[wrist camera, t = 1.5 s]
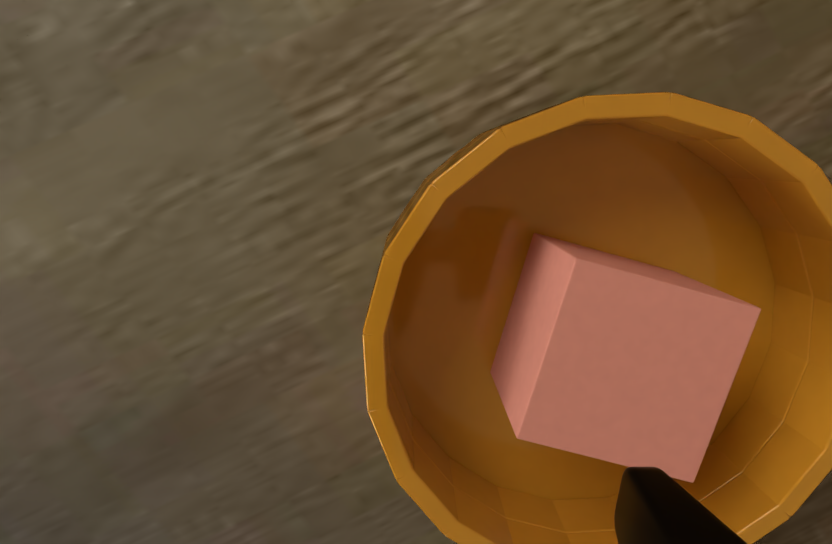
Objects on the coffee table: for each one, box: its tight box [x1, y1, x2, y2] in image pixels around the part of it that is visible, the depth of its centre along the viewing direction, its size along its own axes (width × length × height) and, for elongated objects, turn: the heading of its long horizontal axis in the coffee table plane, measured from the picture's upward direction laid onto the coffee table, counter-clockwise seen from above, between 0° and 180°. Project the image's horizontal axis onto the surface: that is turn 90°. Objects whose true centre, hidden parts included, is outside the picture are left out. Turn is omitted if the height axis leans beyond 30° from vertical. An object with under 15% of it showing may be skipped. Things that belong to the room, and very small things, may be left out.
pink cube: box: [490, 233, 761, 483], centre depth 18 cm, size 5×5×5 cm
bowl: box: [362, 92, 832, 544], centre depth 19 cm, size 14×14×4 cm
